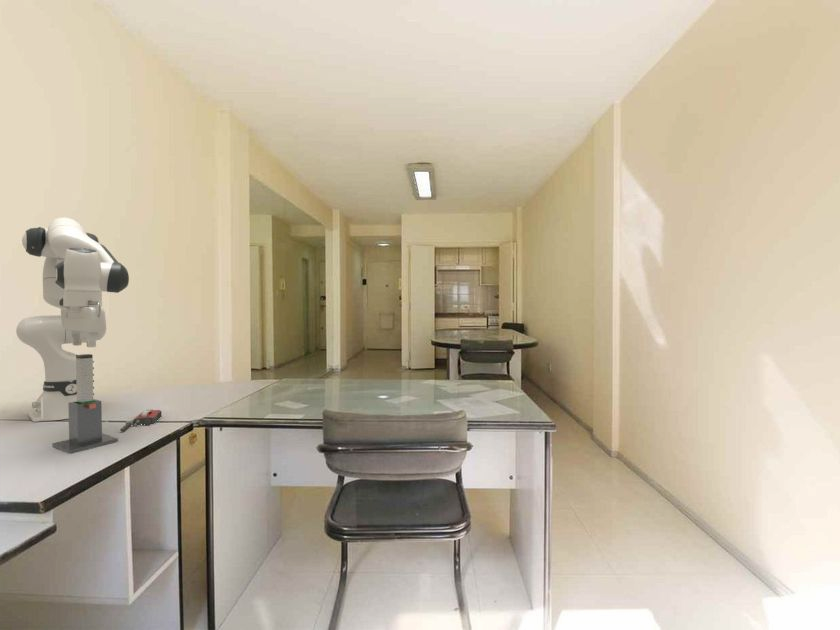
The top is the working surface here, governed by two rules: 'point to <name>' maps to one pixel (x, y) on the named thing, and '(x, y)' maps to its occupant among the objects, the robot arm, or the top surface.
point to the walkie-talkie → (143, 418)
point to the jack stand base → (84, 428)
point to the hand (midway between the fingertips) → (84, 346)
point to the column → (84, 378)
